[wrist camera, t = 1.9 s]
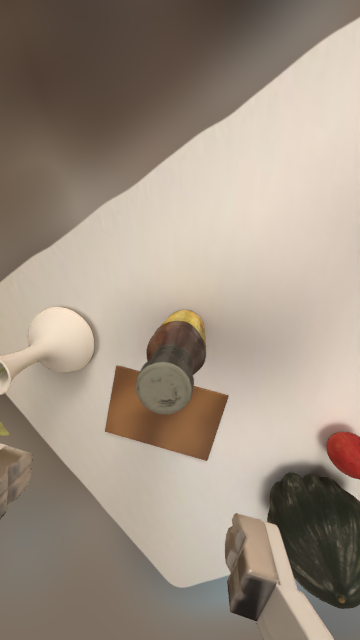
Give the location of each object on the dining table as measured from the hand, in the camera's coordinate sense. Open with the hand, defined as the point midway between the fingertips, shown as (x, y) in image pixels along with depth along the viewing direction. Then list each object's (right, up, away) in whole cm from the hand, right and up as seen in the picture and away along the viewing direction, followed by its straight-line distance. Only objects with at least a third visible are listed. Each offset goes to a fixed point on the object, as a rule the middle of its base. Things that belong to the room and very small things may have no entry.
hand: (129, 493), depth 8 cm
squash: (+24, -25, +30) cm, 46 cm away
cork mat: (-1, -10, +30) cm, 31 cm away
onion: (+28, -13, +27) cm, 41 cm away
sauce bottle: (+3, +6, +26) cm, 27 cm away
